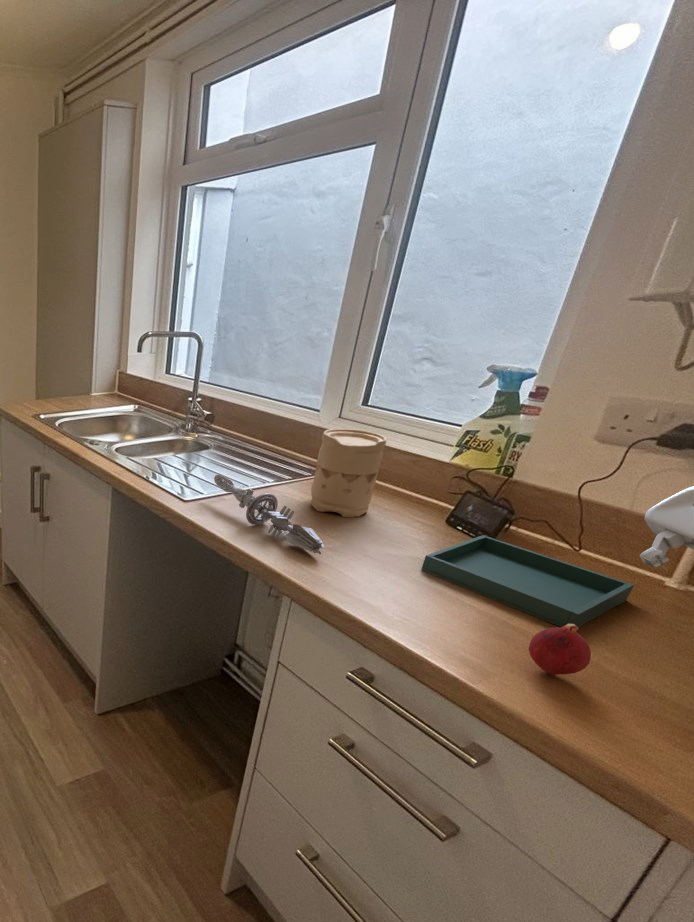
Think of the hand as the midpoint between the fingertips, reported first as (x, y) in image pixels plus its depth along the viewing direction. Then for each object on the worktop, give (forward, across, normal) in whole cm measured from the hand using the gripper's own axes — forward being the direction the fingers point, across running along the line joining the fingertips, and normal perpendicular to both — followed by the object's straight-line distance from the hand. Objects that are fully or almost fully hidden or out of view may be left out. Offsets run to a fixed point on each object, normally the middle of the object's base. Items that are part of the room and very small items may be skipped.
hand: (685, 579), depth 66 cm
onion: (+19, 0, -3) cm, 19 cm away
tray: (+8, +24, -14) cm, 29 cm away
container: (+18, +60, -4) cm, 63 cm away
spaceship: (+34, +48, +12) cm, 61 cm away
